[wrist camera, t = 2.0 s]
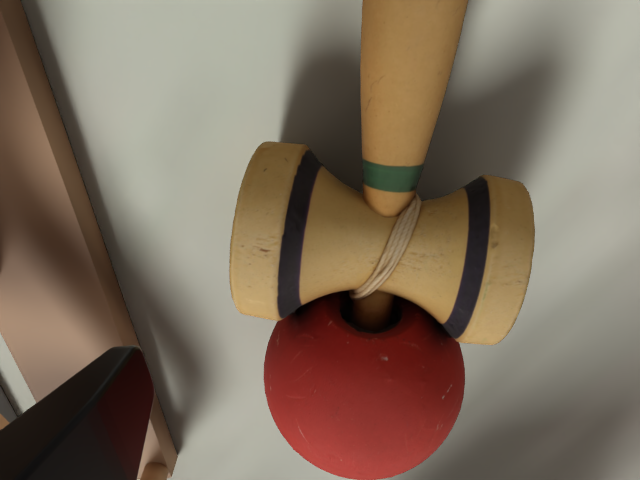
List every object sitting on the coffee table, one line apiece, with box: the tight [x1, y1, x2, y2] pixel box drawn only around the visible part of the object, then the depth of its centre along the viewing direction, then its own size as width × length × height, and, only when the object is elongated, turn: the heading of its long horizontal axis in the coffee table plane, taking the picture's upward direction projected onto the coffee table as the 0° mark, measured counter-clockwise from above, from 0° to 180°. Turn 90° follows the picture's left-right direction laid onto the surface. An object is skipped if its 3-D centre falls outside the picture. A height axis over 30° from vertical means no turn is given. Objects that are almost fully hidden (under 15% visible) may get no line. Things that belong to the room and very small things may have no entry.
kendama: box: [230, 0, 535, 480], centre depth 12 cm, size 8×6×18 cm
